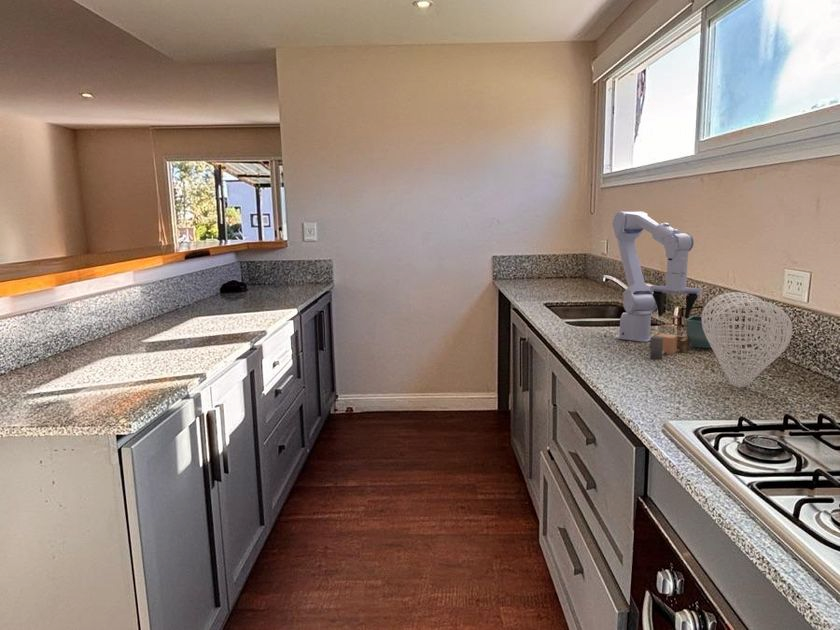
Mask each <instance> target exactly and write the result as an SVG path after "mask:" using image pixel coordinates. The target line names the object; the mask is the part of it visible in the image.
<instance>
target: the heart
mask: <svg viewBox="0 0 840 630" xmlns="http://www.w3.org/2000/svg"><path fill="white" fill-rule="evenodd" d="M723 301H724V302H723ZM746 304H747V305H746ZM756 308H758V310H757V309H756ZM743 309H744V311H745V312H742V311H743ZM749 310H750V312H748V311H749ZM762 310H763V311H764V312H762ZM733 311H734V312H733ZM736 311H737V312H736ZM751 311H752V312H751ZM726 315H727V316H726ZM756 315H757V316H756ZM742 316H743V317H744V318H745V319H744V321H742ZM701 317H702V319H701V321H702V327H703V331H704V333H705V336H706V338H707V340H708V342H709V344H710V346H711V347H710V348H711V350H712V351H713V354H714V355H715V357H716V360H717V361H718V362H719V365H720V367H721V368H722V369H721V370H723V373H724V374H725V376H726V377H727V379H728V381H729V382H730V383H731V385H732V386H734V387H735V388H739V389H741V388H743V387H746V386H747V385H749V384H750V383H752V381H753V380H755V378H757V376H758V375H760V374H761V373H762V372H763V371H764V370H765V369H766V368H767V367H768V366H769V365H771V364H772V363H773V362H775V361H776V359H777V358H779V357H780V356H781V355H782V353H784V351H785V350H786V349H787V348H788V346H789V344H790V341H791V340H792V339H791V338H792V335H793V324H792V320H791V318H790V317H789V315H788V314H787V313H786V312H785V311H784V310H783V309H782V308H780V306H778V305H776V304H774V303H771V302H768V301H765V300H762V299H761V298H758V297H757V296H755V295H753V294H750V293H746V292H741V291H740V292H739V291H733V292H732V291H731V292H726V293H722V294H719V295H717V296H716V297H714V298H712V299H710V301H708V302H707V303H706V305H705V306H704V308H703V309H702V312H701ZM736 317H738V320H739V321H736ZM708 318H709V320H708ZM711 318H712V320H711ZM749 318H750V321H749ZM717 319H718V320H717ZM730 319H731V320H730ZM719 320H720V321H719ZM704 322H705V323H704ZM707 322H708V323H707ZM719 322H720V325H719ZM716 323H717V324H716ZM711 325H712V326H711ZM742 325H744V329H742ZM763 325H765V326H763ZM709 326H710V327H709ZM715 326H716V329H715ZM719 326H720V329H719ZM730 326H732V327H731V328H730ZM736 326H738V328H736ZM752 326H753V327H752ZM708 327H709V328H708ZM758 327H759V328H760V329H759V330H758ZM752 328H753V330H752ZM706 330H707V331H706ZM708 330H709V332H708ZM715 330H716V332H715ZM710 334H711V335H710ZM736 335H738V336H736ZM742 335H744V336H742ZM716 337H717V339H716ZM758 337H759V338H758ZM737 339H738V340H737ZM742 339H744V340H742ZM748 339H749V341H748ZM742 345H744V348H743V346H742ZM748 345H750V346H751V347H748ZM737 346H738V347H737ZM757 347H758V348H757ZM755 348H757V349H755ZM734 351H735V353H734ZM740 351H741V354H740ZM738 357H739V358H741V359H739V358H738ZM738 362H739V363H738ZM735 369H736V370H735Z"/></svg>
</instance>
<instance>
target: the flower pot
mask: <svg viewBox="0 0 840 630" xmlns="http://www.w3.org/2000/svg"><path fill="white" fill-rule="evenodd" d="M701 319H702V316H696V315H693V316H689V318H686V320H685V322H686V337H690V346H691V347H692V346H693V348H701V347H702V348H701V349H707V348H708V349H710V348H711V346H710V344H709V342H708V340H707V338H706V336H705V333H704V331H703V327H702V321H701ZM708 320H709V317H708ZM711 320H712V317H711ZM717 320H718V319H717ZM719 321H720V320H719ZM704 323H705V322H704ZM707 323H708V322H707ZM716 324H717V323H716ZM719 325H720V322H719ZM711 326H712V325H711ZM709 327H710V326H709ZM709 327H708V328H709ZM715 329H716V326H715ZM719 329H720V326H719ZM706 331H707V330H706ZM708 332H709V330H708ZM715 332H716V330H715ZM710 335H711V334H710ZM716 339H717V337H716Z"/></svg>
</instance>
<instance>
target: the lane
mask: <svg viewBox="0 0 840 630" xmlns="http://www.w3.org/2000/svg"><path fill="white" fill-rule="evenodd" d="M659 334H660V333H656V334H653V335H652V336H650V341H649V349H651V337H656V336H657V335H659ZM677 336H678V338H677V348H679V350H678V351H679V352H680V353H685V352H686V351H687V350H688V349H690V346H691V344H690V337H687V335H686V336H684V335H677Z"/></svg>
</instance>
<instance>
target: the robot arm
mask: <svg viewBox="0 0 840 630" xmlns="http://www.w3.org/2000/svg"><path fill="white" fill-rule="evenodd" d="M612 227H613V231H614V236H615V238H616V243H617V247H618V251H619V254H620V258H621V261H622V267H623V270H624V274H625V279H626V283H627V288H626V289H625V290H624V291H623V293H622V296H623V299H622V300H623V302H622V304H623V309H624V311H625V312H622V314H621V316H620V319H619V320H620V321H619V333H618V334H619V336H618V339H619V340H627V341H634V342H644V343H648V342H650V337H651V323H652V320H651V319H652V315H653V314H654V311H655V310H657V312H658V316H659V317H662V316H663V314H664V299H665V294H676V295H677V294H679V295H686V296H685V313H684V319H689V318H690V315H691V312H692V309H693V307H694V305H695V302H696V301H697V299H698V298H699V296H702V295H703V294H702V293H703V288H701V287H699V288H698V287H689V286H687V274H688V264H689V252H691V251H692V249H693V247H694V238H693V236H692V235H691V234H690V232H683V233H682V232H680V229H676V228H674V227H672V226H670V223H668V222H663V223H662V222H661V223H658V222H656V220H654V219H653V218H651V217H650V216H649V213H647V212H645V211H643V210H639V211H621V210H620V211H617V212H616V213H615V215H614V217H613V220H612ZM644 230H645V231H646V232H648V233H651V236H652V238H653V239H654V240H655V241H656V242H658V243H659V244H661V245H663V248H664V250H665V256H666V258H667V260H666V261H667V262H666V274H665V275H666V277H665V285H648V284H647V283H645V278H644V275H643V269H642V267H641V263H640V258H639V255H638V251H637V247H636V244H635V243H636V242H635V240H636V239H638V238H639V237H640V235H642V233H643V231H644Z"/></svg>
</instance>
